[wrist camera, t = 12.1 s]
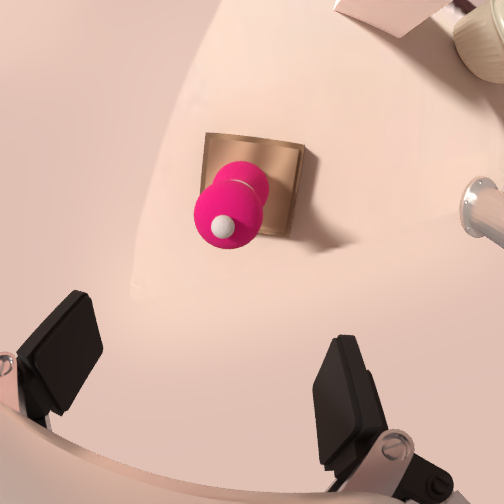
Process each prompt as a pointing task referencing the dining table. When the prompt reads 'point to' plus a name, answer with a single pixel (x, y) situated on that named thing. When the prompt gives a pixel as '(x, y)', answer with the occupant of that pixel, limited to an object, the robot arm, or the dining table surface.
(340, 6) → the milk
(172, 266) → the dining table surface
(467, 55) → the canister
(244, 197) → the pepper mill
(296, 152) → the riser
